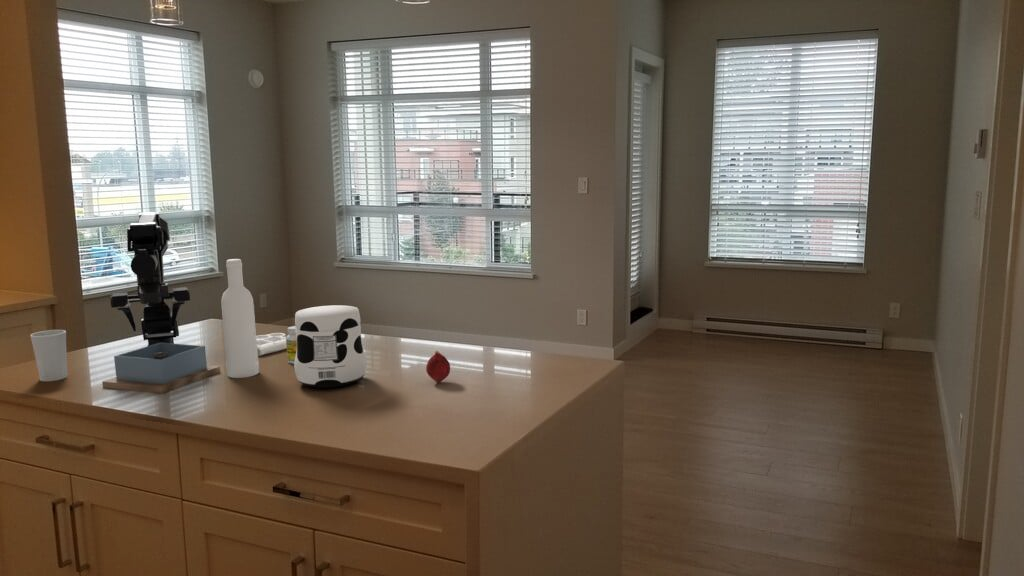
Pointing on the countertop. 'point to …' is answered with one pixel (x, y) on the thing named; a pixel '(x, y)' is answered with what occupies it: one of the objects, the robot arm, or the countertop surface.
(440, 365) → the onion
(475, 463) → the countertop surface
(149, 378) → the blue grey open box
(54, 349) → the cup
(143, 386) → the serving board
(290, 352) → the supplement bottle
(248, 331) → the bottle
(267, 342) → the white muffin tray
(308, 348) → the milk container
